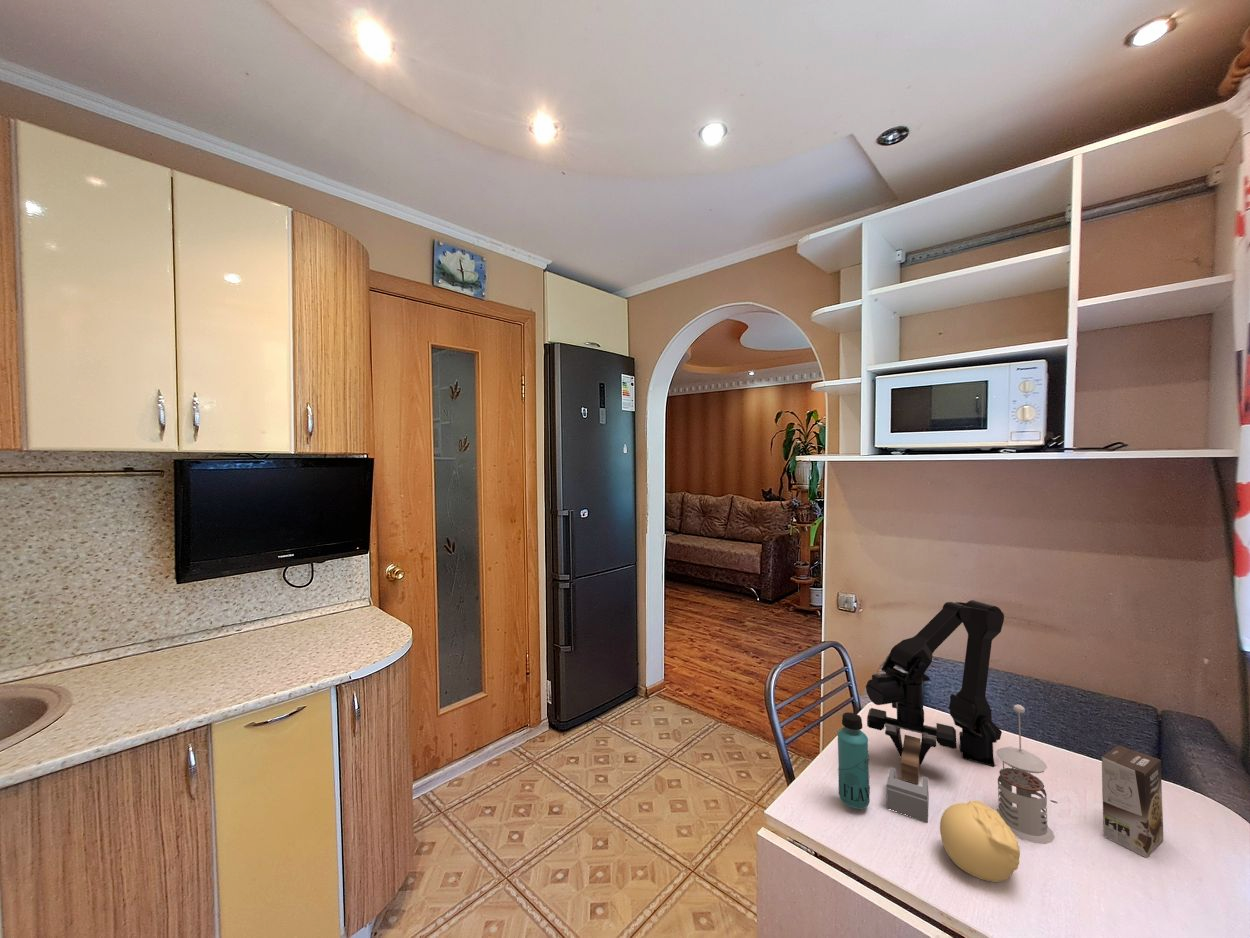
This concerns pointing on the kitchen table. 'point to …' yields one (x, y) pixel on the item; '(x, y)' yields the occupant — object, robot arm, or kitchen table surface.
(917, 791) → the endcap
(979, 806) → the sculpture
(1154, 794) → the coffee box
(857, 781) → the beverage bottle
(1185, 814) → the kitchen table surface
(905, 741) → the slat
